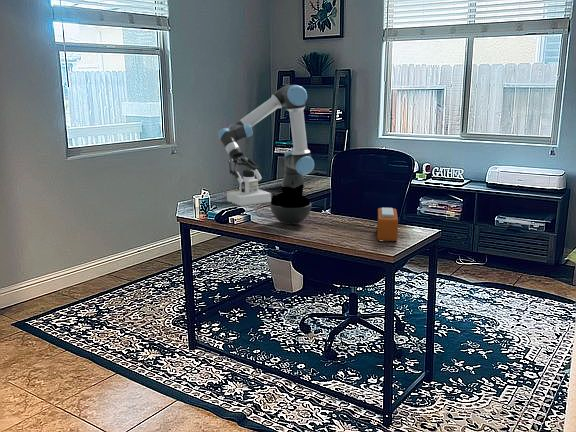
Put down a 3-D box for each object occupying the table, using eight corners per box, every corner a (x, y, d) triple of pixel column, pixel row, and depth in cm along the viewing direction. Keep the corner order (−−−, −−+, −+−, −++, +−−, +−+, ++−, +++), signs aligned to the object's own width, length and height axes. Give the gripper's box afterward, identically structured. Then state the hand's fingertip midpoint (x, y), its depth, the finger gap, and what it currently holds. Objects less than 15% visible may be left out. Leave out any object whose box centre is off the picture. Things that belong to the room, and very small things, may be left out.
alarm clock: (377, 228, 267) (378, 204, 264) (395, 228, 266) (396, 205, 263) (377, 242, 244) (378, 216, 241) (397, 243, 243) (398, 217, 240)
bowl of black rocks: (274, 230, 262) (273, 190, 258) (267, 219, 281) (266, 182, 277) (315, 228, 266) (316, 188, 262) (306, 217, 285) (306, 181, 281)
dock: (257, 196, 334) (257, 188, 333) (271, 201, 321) (271, 192, 320) (227, 200, 324) (226, 191, 323) (240, 206, 311) (239, 196, 309)
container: (249, 194, 316) (248, 171, 313) (239, 192, 321) (238, 170, 318) (258, 192, 322) (258, 169, 319) (248, 190, 327) (248, 168, 324)
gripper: (248, 153, 336) (264, 182, 329) (214, 157, 319) (230, 187, 312) (254, 145, 331) (270, 174, 324) (219, 149, 314) (236, 179, 307)
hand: (251, 180), depth 318 cm, fingers open, 13 cm apart
